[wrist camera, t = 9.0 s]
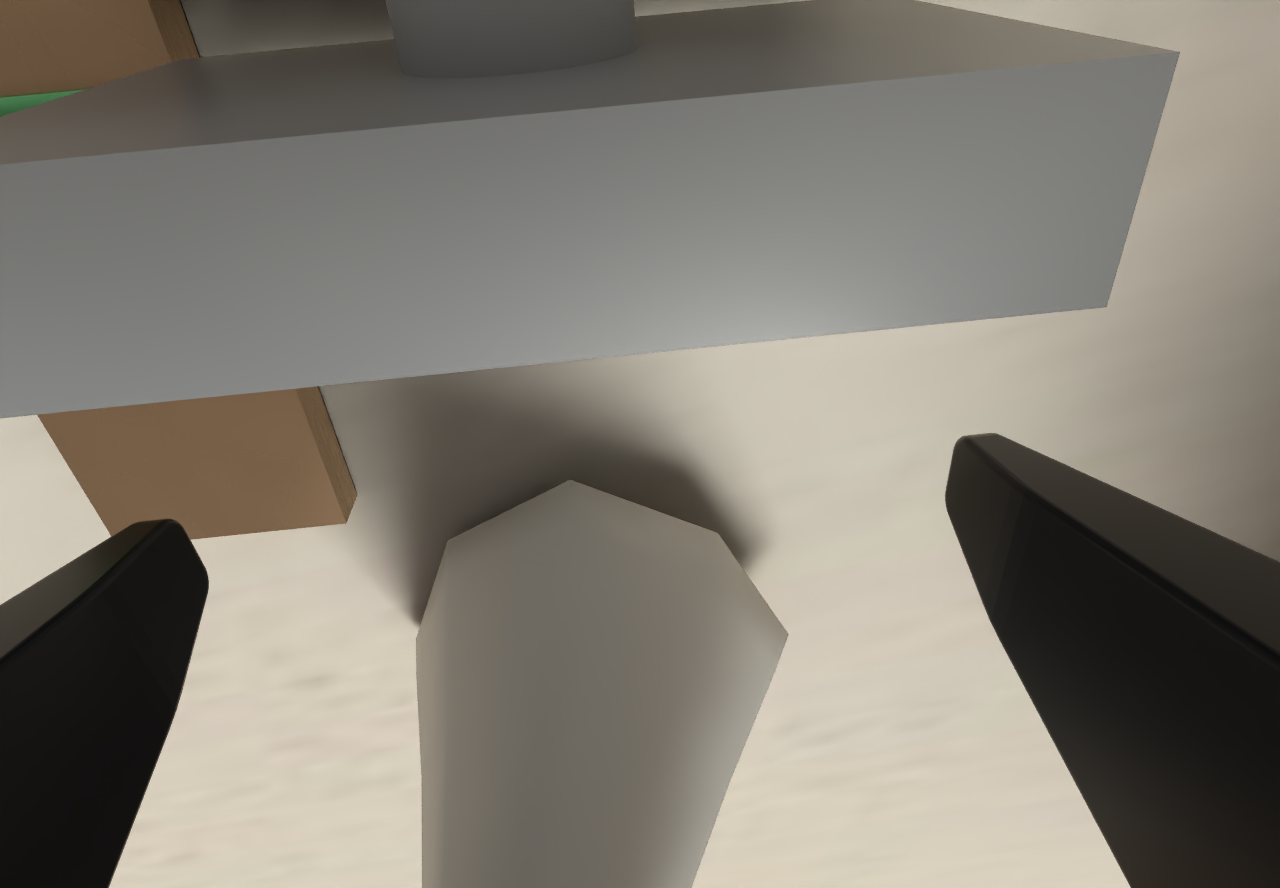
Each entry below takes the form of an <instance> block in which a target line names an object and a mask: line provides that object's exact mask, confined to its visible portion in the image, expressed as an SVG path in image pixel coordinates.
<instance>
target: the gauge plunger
mask: <svg viewBox="0 0 1280 888" xmlns="http://www.w3.org/2000/svg"><path fill="white" fill-rule="evenodd" d="M386 4H387V9H388V13H389V17H390V22H391V26H392V30H393V35H394V39H393V40H383V41H372V42H361V43H350V44H340V45H329V46H318V47H308V48H297V49H286V50H276V51H265V52H254V53H243V54H233V55H222V56H211V57H201V58H190V59H181V60H178V61H174V62H171V63H168V64H165V65H162V66H159V67H156V68H152V69H149V70H146V71H143V72H140V73H137V74H134V75H130V76H127V77H124V78H121V79H118V80H115V81H112V82H108V83H105V84H102V85H99V86H96V87H93V88H90V89H86V90H83V91H80V92H77V93H74V94H71V95H68V96H64V97H61V98H58V99H55V100H52V101H49V102H46V103H42V104H39V105H36V106H33V107H30V108H27V109H24V110H20V111H17V112H14V113H11V114H8V115H5V116H1V117H0V418H8V417H18V416H28V415H38V414H48V413H58V412H68V411H78V410H88V409H98V408H108V407H117V406H127V405H137V404H147V403H157V402H167V401H177V400H187V399H197V398H207V397H217V396H227V395H237V394H247V393H257V392H267V391H277V390H286V389H296V388H306V387H316V386H326V385H336V384H346V383H356V382H366V381H376V380H386V379H396V378H406V377H416V376H426V375H436V374H446V373H455V372H465V371H475V370H485V369H495V368H505V367H515V366H525V365H535V364H545V363H555V362H565V361H575V360H585V359H595V358H605V357H615V356H624V355H634V354H644V353H654V352H664V351H674V350H684V349H694V348H704V347H714V346H724V345H734V344H744V343H754V342H764V341H774V340H784V339H793V338H803V337H813V336H823V335H833V334H843V333H853V332H863V331H873V330H883V329H893V328H903V327H913V326H923V325H933V324H943V323H953V322H962V321H972V320H982V319H992V318H1002V317H1012V316H1022V315H1032V314H1042V313H1052V312H1062V311H1072V310H1082V309H1092V308H1102V307H1107V303H1108V300H1109V296H1110V293H1111V289H1112V286H1113V283H1114V279H1115V276H1116V272H1117V269H1118V265H1119V262H1120V258H1121V255H1122V251H1123V248H1124V244H1125V241H1126V237H1127V234H1128V230H1129V227H1130V224H1131V220H1132V217H1133V213H1134V210H1135V206H1136V203H1137V199H1138V196H1139V192H1140V189H1141V185H1142V182H1143V178H1144V175H1145V171H1146V168H1147V165H1148V161H1149V158H1150V154H1151V151H1152V147H1153V144H1154V140H1155V137H1156V133H1157V130H1158V126H1159V123H1160V119H1161V116H1162V112H1163V109H1164V106H1165V102H1166V99H1167V95H1168V92H1169V88H1170V85H1171V81H1172V78H1173V74H1174V71H1175V67H1176V64H1177V60H1178V57H1179V53H1180V52H1177V51H1172V50H1166V49H1161V48H1156V47H1151V46H1146V45H1141V44H1136V43H1131V42H1126V41H1120V40H1115V39H1110V38H1105V37H1100V36H1095V35H1090V34H1085V33H1079V32H1074V31H1069V30H1064V29H1059V28H1054V27H1049V26H1044V25H1039V24H1033V23H1028V22H1023V21H1018V20H1013V19H1008V18H1003V17H998V16H992V15H987V14H982V13H977V12H972V11H967V10H962V9H957V8H952V7H946V6H941V5H936V4H931V3H926V2H921V1H916V0H811V1H800V2H789V3H779V4H768V5H757V6H746V7H736V8H725V9H714V10H704V11H693V12H682V13H672V14H661V15H650V16H639V17H635V14H634V0H386Z"/></svg>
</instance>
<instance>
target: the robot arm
mask: <svg viewBox="0 0 1280 888" xmlns="http://www.w3.org/2000/svg"><path fill="white" fill-rule="evenodd" d="M945 502H946V508H947V512H948V515H949V517H950V520H951V523H952V525H953V528H954V530H955V533H956V535H957V538H958V541H959V543H960V546H961V548H962V551H963V554H964V556H965V559H966V561H967V564H968V566H969V569H970V572H971V574H972V577H973V579H974V582H975V585H976V587H977V590H978V592H979V595H980V597H981V600H982V603H983V605H984V607H985V610H986V612H987V614H988V617H989V619H990V622H991V624H992V626H993V628H994V630H995V632H996V634H997V636H998V638H999V640H1000V642H1001V643H1002V645H1003V647H1004V649H1005V651H1006V653H1007V655H1008V657H1009V659H1010V660H1011V662H1012V664H1013V666H1014V668H1015V670H1016V672H1017V674H1018V676H1019V677H1020V679H1021V681H1022V683H1023V685H1024V687H1025V689H1026V691H1027V693H1028V694H1029V696H1030V698H1031V700H1032V702H1033V704H1034V706H1035V708H1036V710H1037V711H1038V713H1039V715H1040V717H1041V719H1042V721H1043V723H1044V725H1045V727H1046V728H1047V730H1048V732H1049V734H1050V736H1051V738H1052V740H1053V742H1054V743H1055V745H1056V747H1057V749H1058V751H1059V753H1060V755H1061V757H1062V759H1063V760H1064V762H1065V764H1066V766H1067V768H1068V770H1069V772H1070V774H1071V776H1072V777H1073V779H1074V781H1075V783H1076V785H1077V787H1078V789H1079V791H1080V793H1081V794H1082V796H1083V798H1084V800H1085V802H1086V804H1087V806H1088V808H1089V810H1090V811H1091V813H1092V815H1093V817H1094V819H1095V821H1096V823H1097V825H1098V827H1099V828H1100V830H1101V832H1102V834H1103V836H1104V838H1105V840H1106V842H1107V844H1108V845H1109V847H1110V849H1111V851H1112V853H1113V855H1114V857H1115V859H1116V861H1117V862H1118V864H1119V866H1120V868H1121V870H1122V872H1123V874H1124V876H1125V878H1126V879H1127V881H1128V883H1129V885H1130V887H1131V888H1280V562H1278V561H1276V560H1274V559H1272V558H1269V557H1267V556H1265V555H1263V554H1261V553H1258V552H1256V551H1254V550H1252V549H1250V548H1247V547H1245V546H1243V545H1241V544H1239V543H1236V542H1234V541H1232V540H1230V539H1228V538H1225V537H1223V536H1221V535H1219V534H1217V533H1214V532H1212V531H1210V530H1208V529H1206V528H1203V527H1201V526H1199V525H1197V524H1195V523H1192V522H1190V521H1188V520H1186V519H1184V518H1181V517H1179V516H1177V515H1175V514H1173V513H1170V512H1168V511H1166V510H1164V509H1162V508H1159V507H1157V506H1155V505H1153V504H1151V503H1148V502H1146V501H1144V500H1142V499H1140V498H1137V497H1135V496H1133V495H1131V494H1129V493H1126V492H1124V491H1122V490H1120V489H1118V488H1115V487H1113V486H1111V485H1109V484H1107V483H1104V482H1102V481H1100V480H1098V479H1096V478H1093V477H1091V476H1089V475H1087V474H1085V473H1082V472H1080V471H1078V470H1076V469H1074V468H1071V467H1069V466H1067V465H1065V464H1063V463H1060V462H1058V461H1056V460H1054V459H1052V458H1049V457H1047V456H1045V455H1043V454H1041V453H1038V452H1036V451H1034V450H1032V449H1030V448H1027V447H1025V446H1023V445H1021V444H1019V443H1016V442H1014V441H1012V440H1010V439H1008V438H1005V437H1003V436H1001V435H999V434H996V433H986V434H977V435H967V436H962V437H961V438H960V439H958V440H957V442H956V444H955V446H954V449H953V455H952V460H951V465H950V471H949V476H948V481H947V486H946V493H945ZM208 588H209V580H208V574H207V571H206V568H205V566H204V565H203V563H202V561H201V559H200V557H199V555H198V553H197V551H196V550H195V548H194V546H193V544H192V542H191V540H190V538H189V537H188V535H187V533H186V531H185V529H184V528H183V526H182V525H181V524H180V523H179V522H178V521H176V520H173V519H158V520H149V521H140V522H136V523H133V524H131V525H130V526H128V527H126V528H125V529H123V530H121V531H120V532H118V533H117V534H115V535H113V536H112V537H110V538H108V539H107V540H105V541H104V542H102V543H100V544H99V545H97V546H95V547H94V548H92V549H91V550H89V551H87V552H86V553H84V554H82V555H81V556H79V557H78V558H76V559H74V560H73V561H71V562H70V563H68V564H66V565H65V566H63V567H61V568H60V569H58V570H57V571H55V572H53V573H52V574H50V575H48V576H47V577H45V578H44V579H42V580H40V581H39V582H37V583H35V584H34V585H32V586H31V587H29V588H27V589H26V590H24V591H22V592H21V593H19V594H18V595H16V596H14V597H13V598H11V599H9V600H8V601H6V602H5V603H3V604H1V605H0V888H109V886H110V883H111V881H112V878H113V875H114V873H115V870H116V868H117V865H118V862H119V860H120V857H121V855H122V852H123V849H124V847H125V844H126V841H127V839H128V836H129V834H130V831H131V828H132V826H133V823H134V821H135V818H136V815H137V813H138V810H139V808H140V805H141V802H142V800H143V797H144V795H145V792H146V789H147V787H148V784H149V782H150V779H151V776H152V774H153V771H154V769H155V766H156V763H157V761H158V758H159V756H160V753H161V750H162V748H163V745H164V743H165V740H166V737H167V735H168V732H169V730H170V727H171V724H172V721H173V718H174V715H175V713H176V710H177V706H178V703H179V700H180V696H181V693H182V690H183V686H184V682H185V678H186V674H187V671H188V667H189V663H190V659H191V655H192V651H193V648H194V644H195V640H196V636H197V632H198V629H199V625H200V621H201V617H202V613H203V609H204V606H205V602H206V598H207V594H208Z"/></svg>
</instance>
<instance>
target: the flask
mask: <svg viewBox="0 0 1280 888" xmlns="http://www.w3.org/2000/svg"><path fill="white" fill-rule="evenodd" d="M787 637H788V633H787V631H786V630H785V629H784V627H783V626H782V624H781V623H780V621H779V620H778V618H777V617H776V616H775V614H774V613H773V611H772V610H771V608H770V607H769V606H768V604H767V603H766V601H765V600H764V598H763V597H762V596H761V594H760V593H759V591H758V590H757V588H756V587H755V585H754V584H753V583H752V581H751V580H750V578H749V577H748V575H747V574H746V573H745V571H744V570H743V568H742V567H741V565H740V564H739V563H738V561H737V560H736V558H735V557H734V555H733V554H732V553H731V551H730V550H729V548H728V547H727V545H726V544H725V542H724V541H723V540H722V538H721V537H720V535H719V534H718V533H717V532H714V531H711V530H708V529H706V528H703V527H700V526H697V525H694V524H692V523H689V522H686V521H683V520H681V519H678V518H675V517H672V516H670V515H667V514H664V513H661V512H659V511H656V510H653V509H650V508H647V507H645V506H642V505H639V504H636V503H634V502H631V501H628V500H625V499H623V498H620V497H617V496H614V495H611V494H609V493H606V492H603V491H600V490H598V489H595V488H592V487H589V486H587V485H584V484H581V483H578V482H575V481H573V480H568V481H566V482H564V483H562V484H560V485H558V486H556V487H554V488H552V489H550V490H548V491H546V492H544V493H542V494H540V495H538V496H536V497H534V498H532V499H530V500H528V501H526V502H524V503H522V504H520V505H518V506H516V507H514V508H512V509H510V510H508V511H506V512H504V513H502V514H500V515H498V516H496V517H494V518H492V519H490V520H488V521H486V522H483V523H481V524H479V525H477V526H475V527H473V528H471V529H469V530H467V531H465V532H463V533H461V534H459V535H457V536H455V537H453V538H451V539H449V540H448V541H447V544H446V547H445V550H444V553H443V556H442V560H441V563H440V566H439V569H438V572H437V575H436V578H435V581H434V584H433V588H432V591H431V594H430V597H429V600H428V603H427V606H426V609H425V613H424V616H423V619H422V622H421V625H420V628H419V631H418V634H417V638H416V675H417V695H418V715H419V735H420V755H421V775H422V888H691V887H692V884H693V882H694V879H695V876H696V873H697V871H698V868H699V865H700V862H701V859H702V857H703V854H704V851H705V848H706V846H707V843H708V840H709V837H710V835H711V832H712V829H713V826H714V824H715V821H716V818H717V815H718V813H719V810H720V807H721V804H722V802H723V799H724V796H725V793H726V791H727V788H728V785H729V782H730V780H731V777H732V775H733V772H734V770H735V768H736V765H737V763H738V760H739V758H740V755H741V753H742V751H743V748H744V746H745V743H746V741H747V738H748V736H749V733H750V731H751V729H752V726H753V724H754V721H755V719H756V716H757V714H758V712H759V709H760V707H761V704H762V702H763V699H764V697H765V694H766V692H767V690H768V687H769V685H770V682H771V680H772V677H773V675H774V673H775V670H776V667H777V664H778V662H779V659H780V656H781V653H782V651H783V648H784V645H785V642H786V640H787Z"/></svg>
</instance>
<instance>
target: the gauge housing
mask: <svg viewBox="0 0 1280 888" xmlns="http://www.w3.org/2000/svg"><path fill="white" fill-rule="evenodd" d="M190 58H200V57H199V54H198V52H197V49H196V46H195V43H194V41H193V38H192V35H191V32H190V29H189V27H188V24H187V21H186V18H185V16H184V13H183V10H182V7H181V4H180V2H179V0H0V117H1V116H5V115H8V114H11V113H14V112H17V111H20V110H24V109H27V108H30V107H33V106H36V105H39V104H42V103H46V102H49V101H52V100H55V99H58V98H61V97H64V96H68V95H71V94H74V93H77V92H80V91H83V90H86V89H90V88H93V87H96V86H99V85H102V84H105V83H108V82H112V81H115V80H118V79H121V78H124V77H127V76H130V75H134V74H137V73H140V72H143V71H146V70H149V69H152V68H156V67H159V66H162V65H165V64H168V63H171V62H174V61H178V60H181V59H190ZM38 417H39V418H40V420H41V422H42V423H43V425H44V427H45V428H46V430H47V432H48V433H49V435H50V436H51V438H52V440H53V441H54V443H55V445H56V446H57V448H58V450H59V451H60V453H61V454H62V456H63V458H64V459H65V461H66V463H67V464H68V466H69V468H70V469H71V471H72V472H73V474H74V476H75V477H76V479H77V481H78V482H79V484H80V485H81V487H82V489H83V490H84V492H85V494H86V495H87V497H88V499H89V500H90V502H91V503H92V505H93V507H94V508H95V510H96V512H97V513H98V515H99V517H100V518H101V520H102V521H103V523H104V525H105V526H106V528H107V530H108V531H109V533H110V535H111V536H113V535H115V534H117V533H118V532H120V531H121V530H123V529H125V528H126V527H128V526H130V525H131V524H133V523H136V522H140V521H149V520H158V519H173V520H176V521H178V522H179V523H180V524H181V525H182V526H183V528H184V529H185V531H186V533H187V535H188V537H189V538H190V539H200V538H209V537H219V536H229V535H238V534H248V533H258V532H267V531H277V530H287V529H296V528H306V527H316V526H325V525H335V524H345V523H347V520H348V518H349V515H350V513H351V510H352V507H353V505H354V502H355V500H356V497H357V494H356V491H355V488H354V485H353V483H352V480H351V477H350V474H349V472H348V469H347V466H346V463H345V460H344V458H343V455H342V452H341V449H340V447H339V444H338V441H337V438H336V435H335V433H334V430H333V427H332V424H331V422H330V419H329V416H328V413H327V410H326V408H325V405H324V402H323V399H322V397H321V394H320V391H319V388H318V386H316V387H306V388H296V389H286V390H277V391H267V392H257V393H247V394H237V395H227V396H217V397H207V398H197V399H187V400H177V401H167V402H157V403H147V404H137V405H127V406H117V407H108V408H98V409H88V410H78V411H68V412H58V413H48V414H38Z"/></svg>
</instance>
